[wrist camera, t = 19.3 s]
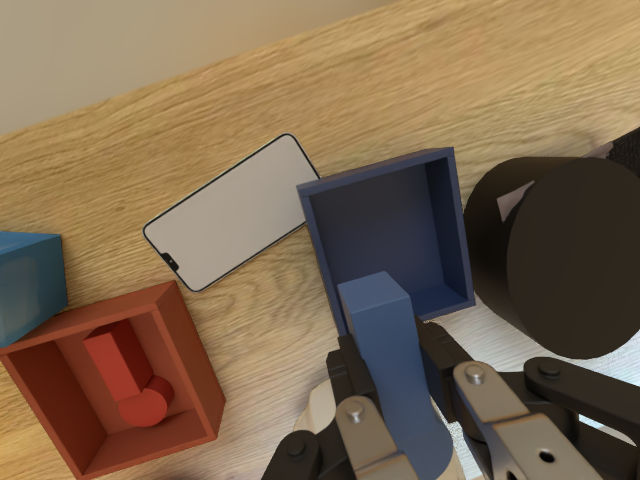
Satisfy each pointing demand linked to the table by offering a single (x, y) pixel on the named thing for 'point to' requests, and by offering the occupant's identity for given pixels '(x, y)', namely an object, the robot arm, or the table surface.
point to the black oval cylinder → (561, 247)
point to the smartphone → (234, 214)
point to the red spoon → (129, 374)
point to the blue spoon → (397, 369)
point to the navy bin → (393, 231)
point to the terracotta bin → (94, 396)
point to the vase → (324, 410)
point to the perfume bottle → (29, 282)
